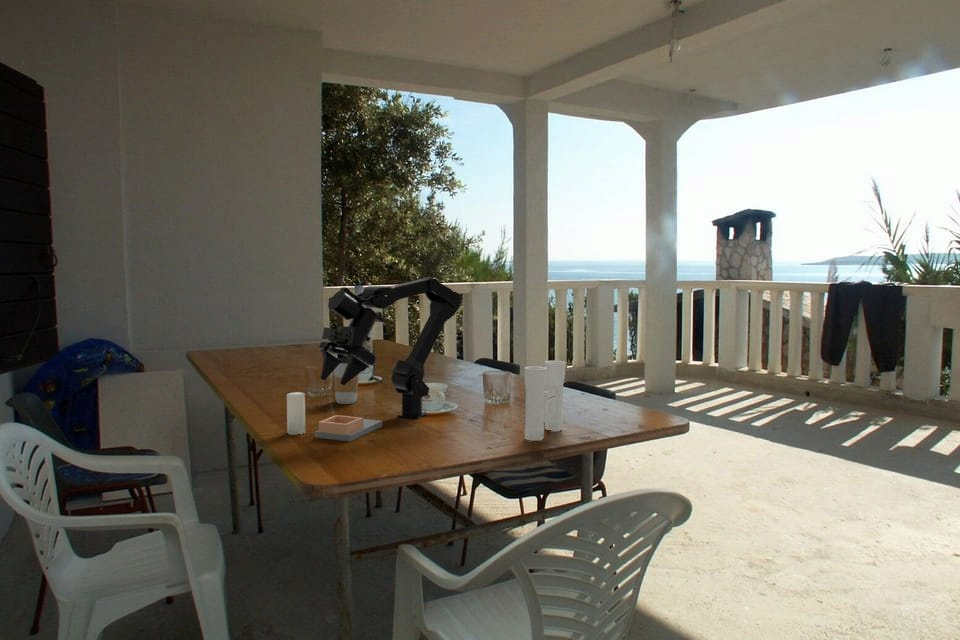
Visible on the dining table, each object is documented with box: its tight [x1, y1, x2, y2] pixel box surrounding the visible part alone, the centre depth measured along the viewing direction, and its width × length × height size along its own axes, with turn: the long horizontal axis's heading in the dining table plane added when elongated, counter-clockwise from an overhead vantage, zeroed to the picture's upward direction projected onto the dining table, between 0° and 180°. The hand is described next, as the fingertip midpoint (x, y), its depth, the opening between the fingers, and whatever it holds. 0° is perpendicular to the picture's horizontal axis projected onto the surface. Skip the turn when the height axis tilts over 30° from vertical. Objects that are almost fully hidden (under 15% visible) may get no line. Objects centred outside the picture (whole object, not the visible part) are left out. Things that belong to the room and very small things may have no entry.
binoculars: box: [524, 359, 566, 441], centre depth 169 cm, size 17×5×18 cm, turn 150°
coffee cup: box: [333, 355, 360, 405], centre depth 206 cm, size 8×8×15 cm
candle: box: [286, 391, 306, 436], centre depth 168 cm, size 4×4×10 cm
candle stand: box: [314, 414, 383, 442], centre depth 170 cm, size 16×10×4 cm, turn 160°
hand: (331, 382), depth 169 cm, fingers open, 9 cm apart
